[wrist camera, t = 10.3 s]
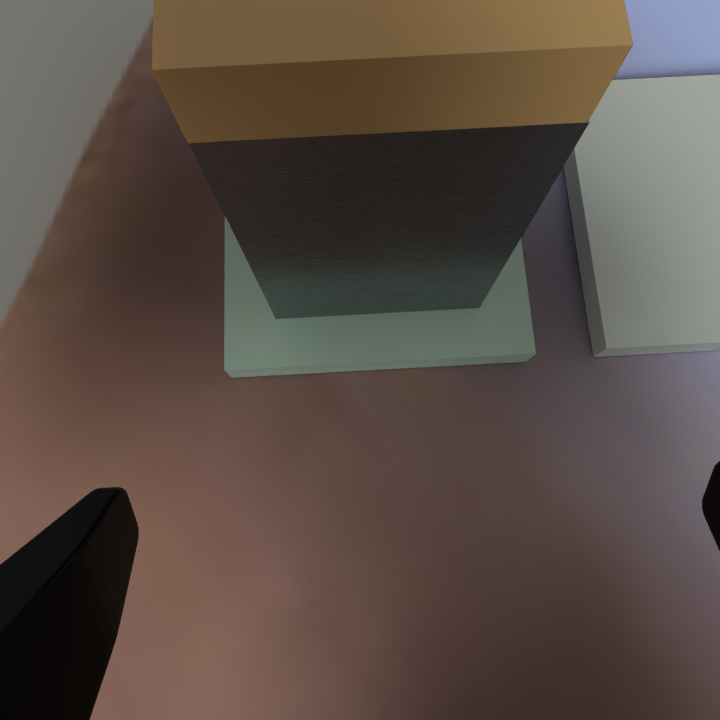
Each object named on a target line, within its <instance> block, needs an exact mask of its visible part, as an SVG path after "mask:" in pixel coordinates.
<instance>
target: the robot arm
mask: <svg viewBox="0 0 720 720" xmlns="http://www.w3.org/2000/svg"><path fill="white" fill-rule="evenodd" d="M702 509H703V513H704V516H705V519H706V521H707V523H708V526H709V528H710V530H711V532H712V535H713V537H714V539H715V542H716V544H717V546H718V548H719V551H720V461H719V462H718V463H717V464H716V465H715V466H714V469H713V471H712V474H711V477H710V480H709V482H708V485H707V488H706V491H705V493H704V496H703V500H702ZM138 536H139V530H138V524H137V521H136V518H135V515H134V512H133V509H132V506H131V503H130V500H129V497H128V494H127V492H126V491H125V490H124V489H123V488H120V487H111V488H98V489H95V490H93V491H92V492H90V493H89V494H88V495H86V496H85V497H84V498H83V499H81V500H80V501H79V502H78V503H76V504H75V505H74V506H73V507H71V508H70V509H69V510H68V511H67V512H65V513H64V514H63V515H62V516H60V517H59V518H58V519H57V520H55V521H54V522H53V523H52V524H50V525H49V526H48V527H47V528H45V529H44V530H43V531H42V532H40V533H39V534H38V535H37V536H35V537H34V538H33V539H32V540H30V541H29V542H28V543H27V544H26V545H24V546H23V547H22V548H21V549H19V550H18V551H17V552H16V553H14V554H13V555H12V556H11V557H9V558H8V559H7V560H6V561H4V562H3V563H2V564H1V565H0V720H90V717H91V714H92V711H93V708H94V705H95V702H96V699H97V696H98V693H99V690H100V687H101V684H102V681H103V678H104V675H105V672H106V669H107V666H108V663H109V660H110V657H111V654H112V651H113V647H114V644H115V641H116V638H117V634H118V630H119V625H120V621H121V617H122V612H123V608H124V603H125V598H126V594H127V589H128V585H129V580H130V575H131V571H132V566H133V561H134V557H135V552H136V548H137V543H138Z"/></svg>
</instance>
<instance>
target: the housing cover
mask: <svg viewBox="0 0 720 720" xmlns="http://www.w3.org/2000/svg"><path fill="white" fill-rule="evenodd" d="M632 46H633V42H632V37H631V32H630V27H629V22H628V17H627V12H626V7H625V2H624V0H154V15H153V40H152V65H151V70H152V72H153V74H154V76H155V78H156V80H157V82H158V84H159V86H160V88H161V90H162V92H163V94H164V96H165V98H166V100H167V102H168V104H169V106H170V108H171V111H172V113H173V115H174V117H175V119H176V121H177V123H178V125H179V127H180V129H181V131H182V133H183V135H184V137H185V139H186V141H187V143H201V142H220V141H240V140H259V139H278V138H297V137H316V136H335V135H355V134H374V133H393V132H412V131H431V130H451V129H470V128H489V127H508V126H527V125H546V124H566V123H585V122H588V121H589V119H590V117H591V116H592V114H593V112H594V111H595V109H596V107H597V105H598V104H599V102H600V100H601V99H602V97H603V95H604V93H605V92H606V90H607V88H608V87H609V85H610V83H611V82H612V80H613V78H614V76H615V75H616V73H617V71H618V70H619V68H620V66H621V65H622V63H623V61H624V59H625V58H626V56H627V54H628V53H629V51H630V49H631V48H632Z"/></svg>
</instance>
